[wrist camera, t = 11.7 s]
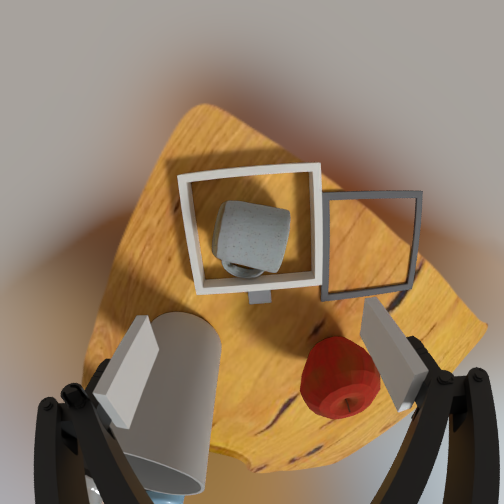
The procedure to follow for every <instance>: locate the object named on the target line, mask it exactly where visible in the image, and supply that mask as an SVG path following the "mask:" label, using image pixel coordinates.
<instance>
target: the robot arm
mask: <svg viewBox="0 0 504 504" xmlns="http://www.w3.org/2000/svg"><path fill="white" fill-rule="evenodd" d="M360 336H361V338H362V340H363V342H364V344H365V346H366V348H367V349H368V351H369V353H370V355H371V357H372V359H373V361H374V363H375V365H376V367H377V369H378V371H379V373H380V375H381V377H382V379H383V382H384V384H385V386H386V388H387V390H388V392H389V394H390V396H391V398H392V400H393V403H394V405H395V407H396V409H397V411H398V412H400V411H403V410H407V409H410V408H411V407H412V405H413V403H414V401H415V402H416V404H417V408H416V410H415V412H414V414H413V415H412V417H411V418H412V421H411V424H410V426H409V428H408V431H407V433H406V436H405V438H404V440H403V443H402V445H401V447H400V450H399V452H398V454H397V456H396V458H395V460H394V462H393V464H392V466H391V468H390V470H389V472H388V474H387V476H386V478H385V479H384V481H383V483H382V485H381V487H380V488H379V490H378V492H377V494H376V496H375V497H374V499H373V500H372V502H371V503H370V504H417V503H418V501H419V499H420V497H421V495H422V493H423V491H424V488H425V486H426V484H427V481H428V479H429V476H430V474H431V471H432V469H433V466H434V463H435V460H436V458H437V455H438V451H439V449H440V445H441V442H442V439H443V436H444V432H445V428H446V425H447V421H448V417H449V449H448V465H447V476H446V484H445V491H444V498H443V504H498V500H499V484H500V482H499V481H500V457H499V440H498V429H497V420H496V413H495V406H494V400H493V395H492V390H491V385H490V380H489V376H488V374H487V372H486V371H485V370H483V369H481V368H477V367H476V368H472V369H471V370H470V371H469V372H468V374H467V376H454V375H453V374H452V373H451V372H449V371H446V370H441V369H440V368H439V366H438V365H437V363H436V362H435V360H434V359H433V358H432V356H431V355H430V353H428V351H427V349H426V348H425V347H424V345H423V344H422V342H421V341H420V340H419V339H417V338H416V337H414V336H410V337H405V335H404V334H403V332H402V331H401V330H400V328H399V327H398V325H397V324H396V323H395V321H394V320H393V319H392V317H391V316H390V315H389V313H388V312H387V310H386V309H385V308H384V306H383V305H382V304H381V303H380V301H379V300H378V299H377V297H372V298H365V303H364V310H363V317H362V324H361V330H360ZM158 351H159V347H158V345H157V342H156V339H155V336H154V333H153V330H152V327H151V324H150V321H149V318H148V315H137V316H136V318H135V319H134V321H133V323H132V324H131V326H130V328H129V329H128V331H127V333H126V334H125V336H124V338H123V339H122V341H121V343H120V344H119V346H118V348H117V350H116V351H115V353H114V355H113V357H112V358H111V359H105V360H104V361H103V362H102V363H101V364H100V365H99V366H98V368H97V370H96V372H95V373H94V375H93V377H92V378H91V380H90V382H89V384H88V385H87V387H86V389H85V391H84V389H83V388H82V386H81V385H80V384H78V383H71V384H68V385H67V386H65V387H64V388H63V390H62V391H61V398H62V399H63V400H64V402H65V403H58V402H57V401H56V399H55V398H53V397H47V398H44V399H43V400H42V401H41V402H40V404H39V406H38V413H37V421H36V432H35V447H34V490H35V504H101V503H102V500H103V502H104V504H183V501H184V496H185V495H171V494H165V493H159V492H155V491H151V490H147V489H144V488H143V486H142V484H141V483H140V481H139V479H138V478H137V476H136V474H135V473H134V471H133V469H132V467H131V466H130V464H129V462H128V460H127V458H126V456H125V455H124V453H123V451H122V449H121V447H120V445H119V443H118V441H117V439H116V437H115V435H114V432H113V430H112V429H111V427H110V424H111V421H112V422H113V423H114V424H115V426H116V427H120V428H125V429H129V428H130V425H131V422H132V419H133V417H134V414H135V411H136V408H137V406H138V403H139V400H140V398H141V395H142V392H143V390H144V387H145V384H146V382H147V379H148V377H149V374H150V372H151V369H152V366H153V364H154V361H155V359H156V356H157V354H158Z"/></svg>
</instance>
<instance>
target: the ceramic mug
mask: <svg viewBox="0 0 504 504" xmlns="http://www.w3.org/2000/svg"><path fill="white" fill-rule="evenodd" d="M289 230H290V212H289V211H288V210H285V209H280V208H274V207H269V206H264V205H259V204H253V203H248V202H242V201H225V202H224V203H222V205H221V206H220V209H219V212H218V215H217V219H216V223H215V228H214V233H213V240H212V252H213V254H214V256H215V257H217V258H219V259H221V260H222V265H223V267H224V269H225V270H226V271H228V272H229V273H230V274H232V275H234V276H237V277H240V278H255V277H257V276H259V275H261V274H262V273H263V272H264V271H268V272H272V273H276V272H277V271H278V270H279V268H280V266H281V263H282V260H283V257H284V253H285V249H286V245H287V240H288V236H289ZM230 262H231V263H236V264H241V265H245V266H248V267H252V268H255V269H245V268H241V267H238V266H236V265H232V264H231V263H230Z"/></svg>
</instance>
